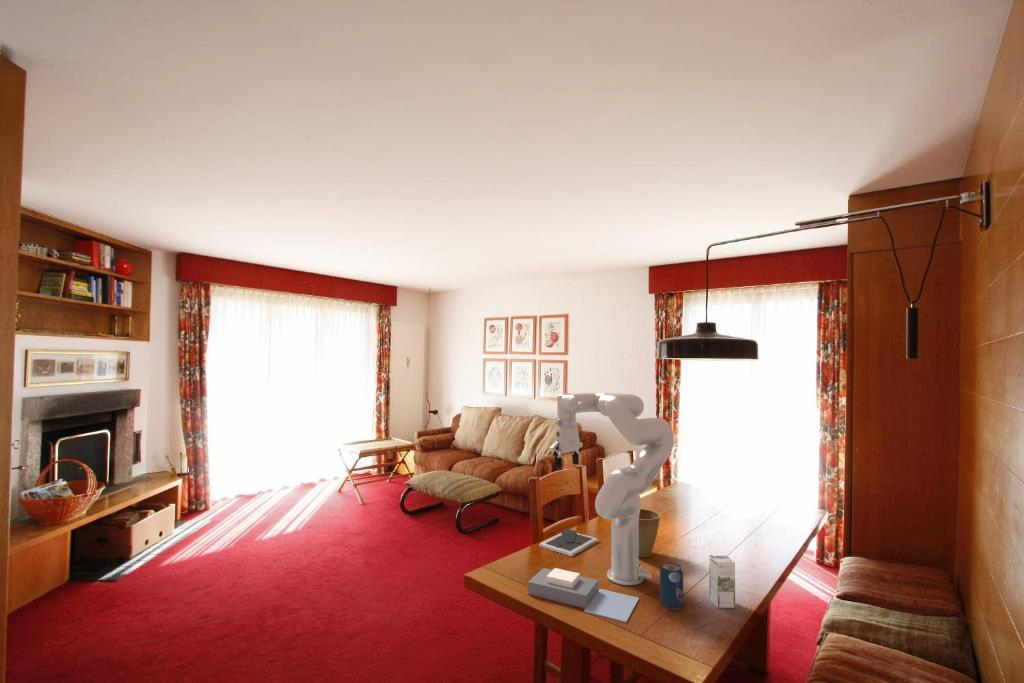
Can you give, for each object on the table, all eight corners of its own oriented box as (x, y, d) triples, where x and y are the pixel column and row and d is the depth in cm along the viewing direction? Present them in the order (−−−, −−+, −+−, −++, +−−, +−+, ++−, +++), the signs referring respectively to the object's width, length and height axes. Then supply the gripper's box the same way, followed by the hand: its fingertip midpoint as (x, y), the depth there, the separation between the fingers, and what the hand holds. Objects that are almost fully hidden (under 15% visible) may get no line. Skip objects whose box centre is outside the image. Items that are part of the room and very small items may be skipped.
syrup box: (726, 599, 153) (725, 553, 153) (736, 609, 147) (735, 561, 147) (709, 600, 152) (708, 554, 153) (718, 609, 146) (716, 561, 147)
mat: (639, 599, 153) (639, 597, 153) (626, 622, 139) (626, 621, 139) (600, 590, 159) (600, 588, 159) (583, 611, 145) (583, 610, 145)
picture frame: (567, 534, 212) (539, 548, 197) (567, 528, 213) (539, 541, 197) (598, 543, 202) (571, 558, 186) (598, 536, 202) (571, 551, 187)
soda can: (683, 612, 145) (682, 572, 145) (659, 608, 147) (659, 568, 148) (683, 602, 151) (683, 563, 152) (661, 598, 154) (660, 560, 154)
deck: (598, 592, 157) (598, 580, 158) (586, 608, 147) (586, 595, 147) (543, 579, 167) (543, 567, 167) (528, 594, 156) (528, 581, 156)
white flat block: (579, 579, 158) (579, 573, 158) (572, 588, 152) (572, 581, 152) (554, 573, 162) (554, 568, 162) (546, 582, 156) (546, 576, 156)
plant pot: (657, 564, 179) (657, 521, 180) (618, 557, 186) (617, 516, 186) (662, 550, 193) (662, 510, 194) (625, 544, 199) (625, 506, 200)
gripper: (557, 426, 187) (557, 470, 186) (588, 422, 197) (588, 464, 196) (544, 424, 193) (544, 466, 192) (575, 421, 203) (575, 461, 202)
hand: (566, 465), depth 194 cm, fingers open, 9 cm apart
